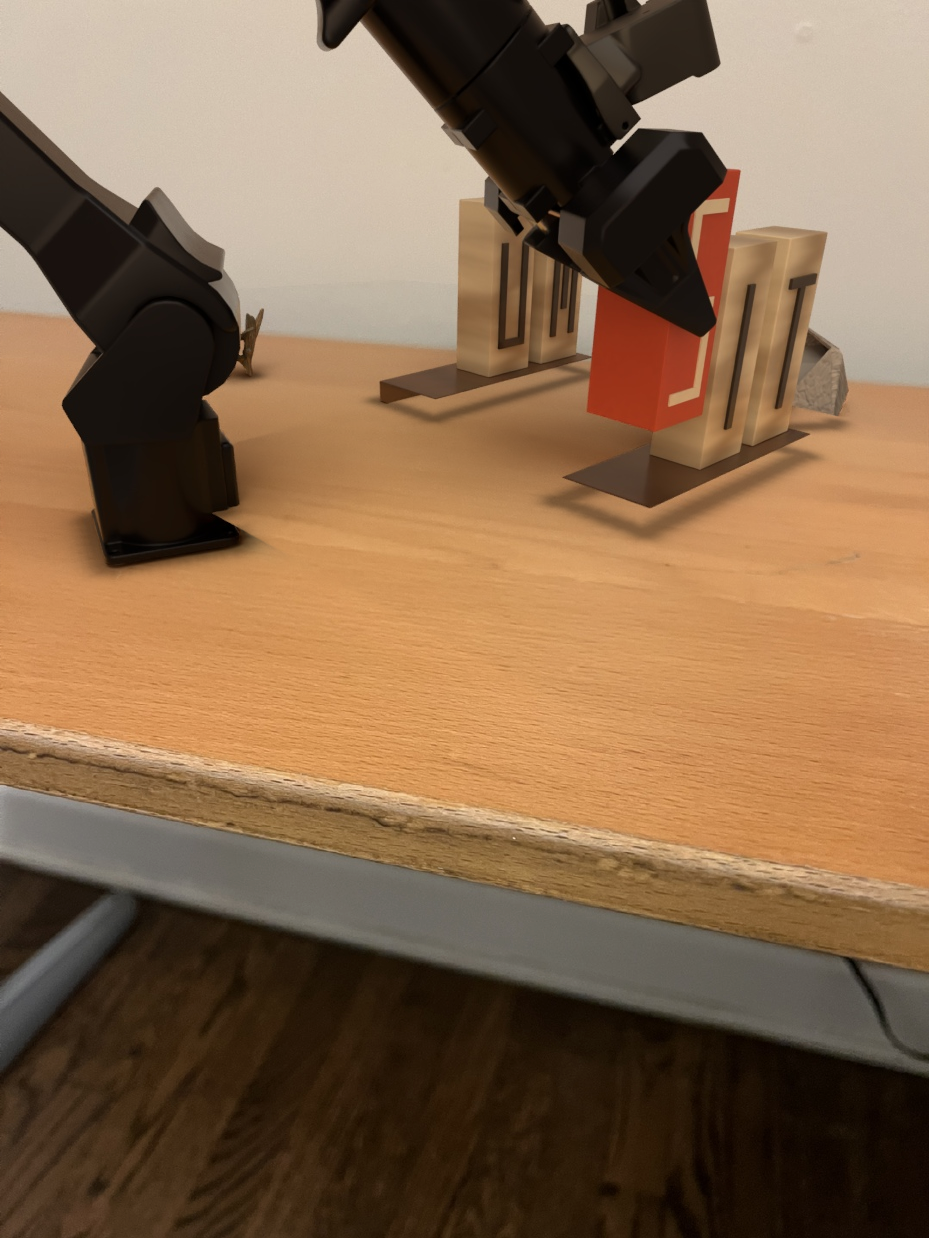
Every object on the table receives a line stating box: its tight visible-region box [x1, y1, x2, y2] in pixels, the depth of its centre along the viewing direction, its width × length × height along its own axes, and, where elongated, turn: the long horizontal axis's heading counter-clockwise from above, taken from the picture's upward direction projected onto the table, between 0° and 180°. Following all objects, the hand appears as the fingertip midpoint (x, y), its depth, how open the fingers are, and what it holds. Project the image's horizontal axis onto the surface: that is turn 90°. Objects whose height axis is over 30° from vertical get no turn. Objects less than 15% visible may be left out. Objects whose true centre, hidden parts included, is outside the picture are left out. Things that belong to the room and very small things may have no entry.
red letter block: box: [586, 168, 742, 433], centre depth 46 cm, size 4×5×12 cm
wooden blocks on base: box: [379, 196, 592, 404], centre depth 69 cm, size 18×6×14 cm, turn 135°
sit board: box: [562, 225, 828, 509], centre depth 52 cm, size 18×6×14 cm, turn 135°
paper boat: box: [792, 326, 849, 417], centre depth 67 cm, size 12×6×9 cm
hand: (681, 316), depth 47 cm, fingers closed on red letter block, 6 cm apart
